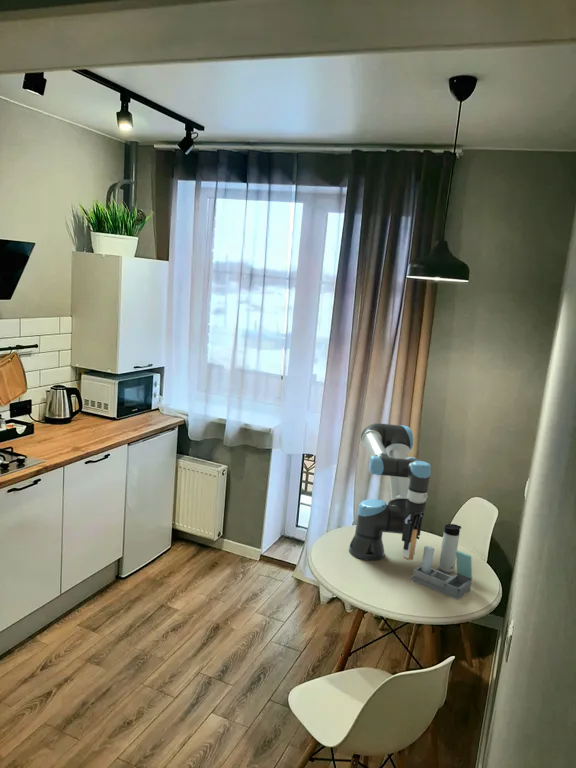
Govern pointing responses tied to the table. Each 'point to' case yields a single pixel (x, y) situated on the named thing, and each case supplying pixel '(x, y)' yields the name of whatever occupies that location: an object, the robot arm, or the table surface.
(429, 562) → the ball
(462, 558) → the lid
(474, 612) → the table surface
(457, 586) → the housing
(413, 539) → the orange capsule
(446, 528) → the travel mug
